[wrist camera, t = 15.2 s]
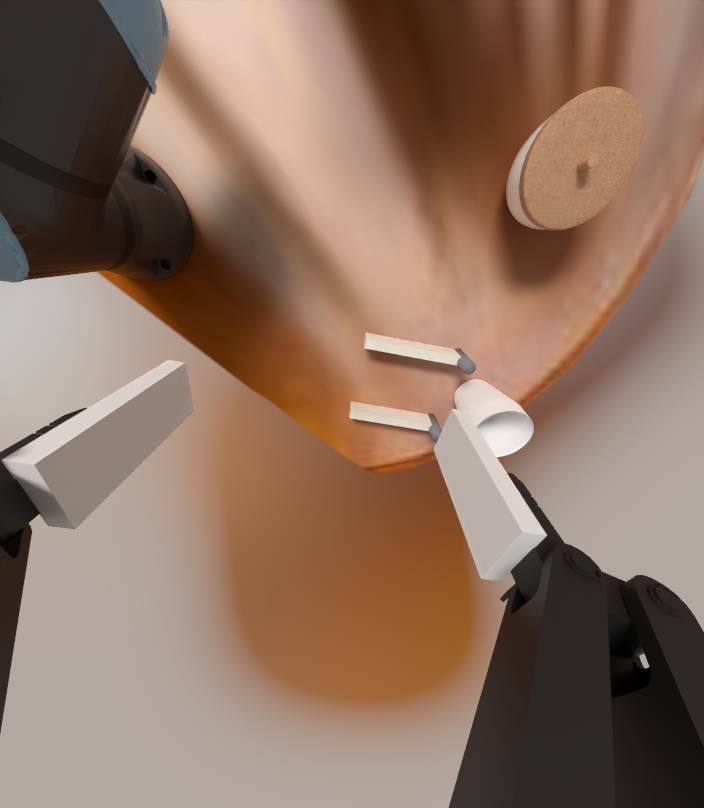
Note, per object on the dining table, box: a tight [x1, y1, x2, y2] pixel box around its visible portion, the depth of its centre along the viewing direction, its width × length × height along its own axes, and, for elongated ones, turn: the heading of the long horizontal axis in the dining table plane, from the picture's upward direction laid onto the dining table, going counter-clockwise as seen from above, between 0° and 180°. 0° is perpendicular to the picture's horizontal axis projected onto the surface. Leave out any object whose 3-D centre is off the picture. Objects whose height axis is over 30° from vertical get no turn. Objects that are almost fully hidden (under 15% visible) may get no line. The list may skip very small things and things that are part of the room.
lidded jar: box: [506, 86, 643, 230], centre depth 28 cm, size 11×11×9 cm
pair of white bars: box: [349, 333, 476, 442], centre depth 45 cm, size 17×16×6 cm
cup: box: [454, 379, 534, 457], centre depth 43 cm, size 9×9×12 cm
